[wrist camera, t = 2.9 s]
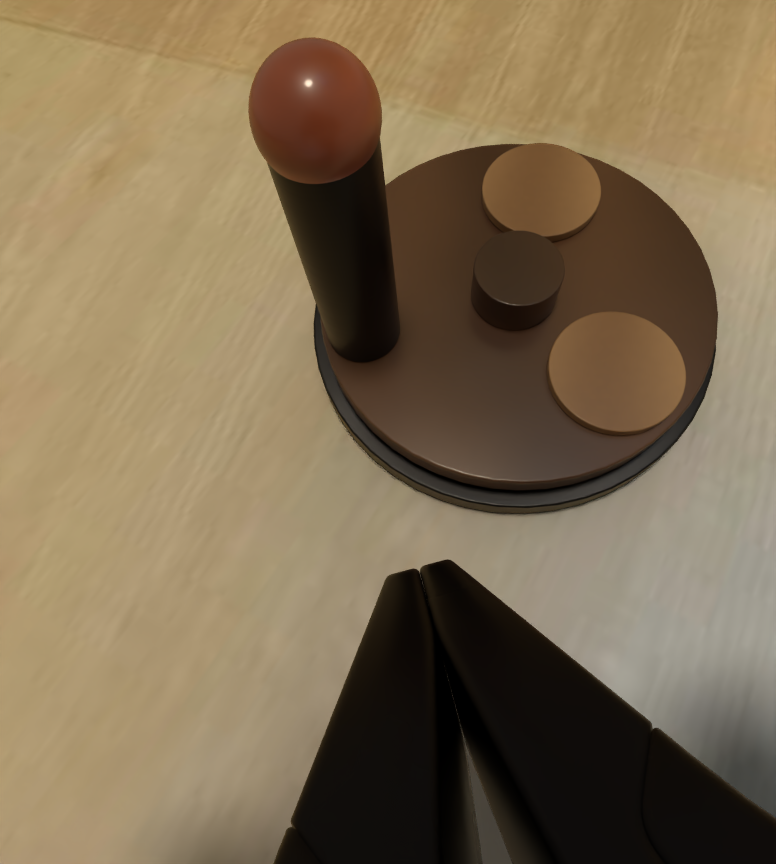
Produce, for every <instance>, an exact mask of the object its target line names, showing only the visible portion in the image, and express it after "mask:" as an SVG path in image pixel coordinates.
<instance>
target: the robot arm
mask: <svg viewBox="0 0 776 864" xmlns="http://www.w3.org/2000/svg"><path fill="white" fill-rule="evenodd" d="M420 575H421V576H420ZM421 579H422V580H421ZM422 582H423V583H422ZM423 586H424V587H423ZM424 590H425V591H424ZM428 605H429V606H428ZM444 665H445V666H444ZM447 676H448V677H447ZM448 680H449V681H448ZM450 687H451V688H450ZM451 691H452V692H451ZM452 695H453V696H452ZM453 698H454V700H453ZM454 702H455V703H454ZM455 706H456V707H455ZM456 709H457V711H456ZM457 713H458V715H457ZM458 717H459V718H458ZM459 721H460V722H459ZM460 724H461V726H460ZM461 728H462V730H461ZM462 731H463V734H462ZM463 735H464V738H465V741H466V745H467V748H468V750H469V753H470V756H471V759H472V761H473V764H474V767H475V769H476V772H477V774H478V777H479V779H480V782H481V785H482V787H483V790H484V792H485V795H486V797H487V800H488V802H489V805H490V807H491V810H492V812H493V815H494V817H495V820H496V823H497V825H498V828H499V830H500V833H501V835H502V838H503V840H504V843H505V845H506V848H507V850H508V853H509V855H510V858H511V860H512V863H513V864H776V818H775V817H774V816H772V815H771V814H769V813H768V812H767V811H765V810H764V809H762V808H761V807H759V806H758V805H757V804H755V803H754V802H752V801H751V800H749V799H748V798H747V797H746V796H744V795H743V794H742V793H740V792H739V791H738V790H736V789H735V788H734V787H733V786H731V785H730V784H729V783H727V782H726V781H725V780H723V779H722V778H721V777H720V776H718V775H717V774H716V773H714V772H713V771H712V770H710V769H709V768H708V767H707V766H705V765H704V764H703V763H701V762H700V761H699V760H697V759H696V758H695V757H694V756H692V755H691V754H690V753H689V752H687V751H686V750H685V749H684V748H683V747H681V746H680V745H679V744H678V743H676V742H675V741H674V740H673V739H672V738H670V737H669V736H668V735H667V734H665V733H664V732H663V731H662V730H661V729H659V728H654V729H653V728H652V723H651V722H650V721H649V720H648V719H646V718H645V717H644V716H643V715H641V714H640V713H639V712H638V711H637V710H635V709H634V708H633V707H632V706H630V705H629V704H628V703H627V702H625V701H624V700H623V699H622V698H621V697H619V696H618V695H617V694H616V693H614V692H613V691H612V690H611V689H609V688H608V687H607V686H606V685H605V684H603V683H602V682H601V681H600V680H598V679H597V678H596V677H595V676H593V675H592V674H591V673H590V672H588V671H587V670H586V669H585V668H584V667H582V666H581V665H580V664H579V663H577V662H576V661H575V660H574V659H572V658H571V657H570V656H569V655H568V654H566V653H565V652H564V651H563V650H561V649H560V648H559V647H558V646H556V645H555V644H554V643H553V642H552V641H550V640H549V639H548V638H547V637H545V636H544V635H543V634H542V633H540V632H539V631H538V630H537V629H535V628H534V627H533V626H532V625H531V624H529V623H528V622H527V621H526V620H524V619H523V618H522V617H521V616H519V615H518V614H517V613H516V612H515V611H513V610H512V609H511V608H510V607H508V606H507V605H506V604H505V603H503V602H502V601H501V600H500V599H499V598H497V597H496V596H495V595H494V594H492V593H491V592H490V591H489V590H487V589H486V588H485V587H484V586H483V585H481V584H480V583H479V582H478V581H476V580H475V579H474V578H473V577H471V576H470V575H469V574H468V573H466V572H465V571H464V570H463V569H462V568H460V567H459V566H458V565H457V564H455V563H454V562H453V561H451V560H443V561H439V562H435V563H432V564H428V565H424V566H422V567H421V569H420V573H419V571H418V570H417V569H410V570H406V571H402V572H398V573H395V574H391V575H389V576H388V577H387V578H386V580H385V582H384V585H383V587H382V590H381V592H380V595H379V597H378V600H377V602H376V605H375V608H374V610H373V613H372V615H371V618H370V620H369V623H368V625H367V628H366V630H365V633H364V635H363V638H362V641H361V643H360V646H359V648H358V651H357V653H356V656H355V658H354V661H353V663H352V666H351V668H350V671H349V674H348V676H347V679H346V681H345V684H344V686H343V689H342V691H341V694H340V696H339V699H338V701H337V704H336V707H335V709H334V712H333V714H332V717H331V719H330V722H329V724H328V727H327V729H326V732H325V735H324V737H323V740H322V742H321V745H320V747H319V750H318V752H317V755H316V757H315V760H314V762H313V765H312V768H311V770H310V773H309V775H308V778H307V780H306V783H305V785H304V788H303V790H302V793H301V795H300V798H299V801H298V803H297V806H296V808H295V811H294V813H293V816H292V818H291V824H292V827H290V828H288V829H287V830H286V832H285V835H284V838H283V840H282V843H281V845H280V848H279V850H278V853H277V856H276V858H275V861H274V863H273V864H483V862H482V855H481V848H480V842H479V835H478V828H477V821H476V814H475V807H474V800H473V793H472V786H471V779H470V772H469V765H468V759H467V754H466V748H465V743H464V739H463Z"/></svg>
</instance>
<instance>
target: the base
mask: <svg viewBox="0 0 776 864" xmlns="http://www.w3.org/2000/svg"><path fill="white" fill-rule="evenodd" d="M314 345H315V351H316V357H317V362H318V367H319V371H320V374H321V377H322V379H323V382H324V385H325V388H326V391H327V393H328V396H329V398H330V400H331V402H332V404H333V406H334V408H335V410H336V412H337V414H338V416H339V418H340V420H341V421H342V423H343V424H344V425H345V427H346V428H347V430H348V431H349V432H350V434H351V435H352V437H353V438H354V439H355V441H356V442H357V443H358V444H359V445H360V446H361V447H362V448H363V449H364V450H365V451H366V452H367V453H368V455H369V456H370V457H371V458H372V459H373V460H375V461H376V462H377V463H378V464H380V465H381V466H382V467H383V468H385V469H386V470H387V471H388V472H390V473H391V474H392V475H394V476H395V477H397V478H398V479H400V480H402V481H403V482H405V483H407V484H408V485H410V486H412V487H413V488H415V489H417V490H419V491H421V492H424V493H426V494H428V495H431V496H433V497H435V498H437V499H440V500H442V501H446V502H449V503H452V504H456V505H459V506H463V507H466V508H471V509H477V510H483V511H489V512H496V513H534V512H545V511H553V510H558V509H562V508H567V507H571V506H576V505H580V504H582V503H585V502H588V501H590V500H593V499H596V498H598V497H601V496H604V495H606V494H608V493H610V492H612V491H613V490H615V489H617V488H619V487H621V486H623V485H625V484H626V483H628V482H630V481H631V480H632V479H634V478H635V477H637V476H638V475H639V474H641V473H642V472H643V471H645V470H646V469H647V468H649V467H650V466H651V465H653V464H654V463H655V462H656V461H657V460H659V459H660V458H661V457H662V456H663V455H664V454H665V453H666V452H667V451H668V450H669V449H670V448H671V447H672V446H673V445H674V444H675V443H676V442H677V441H678V439H679V438H680V437H681V435H682V434H683V433H684V431H685V430H686V429H687V427H688V426H689V424H690V423H691V422H692V420H693V418H694V417H695V415H696V413H697V411H698V409H699V407H700V405H701V403H702V401H703V399H704V397H705V394H706V391H707V388H708V385H709V382H710V379H711V376H712V371H713V365H714V359H715V352H716V343H715V348H714V352H713V357H712V362H711V364H710V367H709V369H708V372H707V374H706V377H705V379H704V382H703V384H702V386H701V387H700V389H699V391H698V392H697V394H696V396H695V398H694V399H693V401H692V403H691V404H690V406H689V407H688V408H687V409H686V410H685V412H684V413H683V414H682V415H681V417H680V418H679V419H678V420H677V421H676V423H675V424H674V425H673V426H672V427H671V428H670V429H668V430H667V431H666V432H665V433H664V434H663V435H662V436H661V437H660V438H658V439H657V440H656V441H655V442H654V443H653V444H652V445H651V446H649V447H648V448H647V449H646V450H645V451H643V452H642V453H640V454H639V455H637V456H636V457H634V458H633V459H631V460H630V461H628V462H626V463H625V464H623V465H621V466H619V467H617V468H615V469H613V470H611V471H609V472H607V473H604V474H602V475H600V476H597V477H594V478H591V479H588V480H585V481H582V482H579V483H575V484H572V485H566V486H560V487H555V488H549V489H538V490H505V489H492V488H486V487H481V486H476V485H471V484H466V483H462V482H459V481H456V480H453V479H450V478H447V477H444V476H441V475H438V474H436V473H434V472H432V471H430V470H428V469H426V468H424V467H422V466H420V465H418V464H415V463H413V462H412V461H410V460H409V459H407V458H406V457H404V456H403V455H401V454H400V453H398V452H397V451H395V450H394V449H392V448H391V447H390V446H389V445H387V444H386V443H385V442H384V441H383V440H382V439H380V438H379V437H378V436H377V435H376V434H375V433H373V432H372V430H371V429H370V428H369V427H368V426H367V425H366V424H365V423H364V421H363V420H362V419H361V418H360V417H359V416H358V415H357V413H356V412H355V410H354V409H353V407H352V406H351V404H350V403H349V401H348V400H347V398H346V397H345V395H344V394H343V391H342V389H341V387H340V385H339V383H338V381H337V379H336V376H335V374H334V372H333V369H332V367H331V364H330V361H329V357H328V354H327V351H326V347H325V344H324V340H323V333H322V326H321V316H320V313H319V310H318V307H317V304H316V308H315V317H314Z"/></svg>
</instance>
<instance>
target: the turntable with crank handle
mask: <svg viewBox="0 0 776 864" xmlns="http://www.w3.org/2000/svg"><path fill="white" fill-rule="evenodd" d="M248 112H249V121H250V127H251V131H252V134H253V138H254V140H255V143H256V145H257V147H258V149H259V151H260V153H261V154H262V156H263V157H264V159H265V160H266V161H267V164H268V166H269V169H270V172H271V175H272V178H273V181H274V184H275V187H276V189H277V192H278V195H279V198H280V201H281V204H282V207H283V210H284V212H285V215H286V218H287V221H288V224H289V227H290V230H291V233H292V235H293V238H294V241H295V244H296V247H297V250H298V253H299V256H300V258H301V261H302V264H303V267H304V270H305V273H306V276H307V279H308V281H309V284H310V287H311V290H312V293H313V296H314V299H315V301H316V304H317V307H318V310H319V313H320V316H321V326H322V333H323V340H324V344H325V347H326V351H327V354H328V357H329V361H330V364H331V367H332V369H333V372H334V374H335V376H336V379H337V381H338V383H339V385H340V387H341V389H342V391H343V394H344V395H345V397H346V398H347V400H348V401H349V403H350V404H351V406H352V407H353V409H354V410H355V412H356V413H357V415H358V416H359V417H360V418H361V419H362V420H363V421H364V423H365V424H366V425H367V426H368V427H369V428H370V429H371V430H372V432H373V433H375V434H376V435H377V436H378V437H379V438H380V439H382V440H383V441H384V442H385V443H386V444H387V445H389V446H390V447H391V448H392V449H394V450H395V451H397V452H398V453H400V454H401V455H403V456H404V457H406V458H407V459H409V460H410V461H412V462H413V463H415V464H418V465H420V466H422V467H424V468H426V469H428V470H430V471H432V472H434V473H436V474H438V475H441V476H444V477H447V478H450V479H453V480H456V481H459V482H462V483H466V484H471V485H476V486H481V487H486V488H492V489H505V490H538V489H549V488H555V487H560V486H566V485H572V484H575V483H579V482H582V481H585V480H588V479H591V478H594V477H597V476H600V475H602V474H604V473H607V472H609V471H611V470H613V469H615V468H617V467H619V466H621V465H623V464H625V463H626V462H628V461H630V460H631V459H633V458H634V457H636V456H637V455H639V454H640V453H642V452H643V451H645V450H646V449H647V448H648V447H649V446H651V445H652V444H653V443H654V442H655V441H656V440H657V439H658V438H660V437H661V436H662V435H663V434H664V433H665V432H666V431H667V430H668V429H670V428H671V427H672V426H673V425H674V424H675V423H676V421H677V420H678V419H679V418H680V417H681V415H682V414H683V413H684V412H685V410H686V409H687V408H688V407H689V406H690V404H691V403H692V401H693V399H694V398H695V396H696V394H697V392H698V391H699V389H700V387H701V386H702V384H703V382H704V379H705V377H706V374H707V372H708V369H709V367H710V364H711V362H712V357H713V352H714V348H715V343H716V339H717V321H718V311H717V301H716V292H715V288H714V284H713V280H712V276H711V273H710V269H709V267H708V264H707V262H706V260H705V257H704V255H703V253H702V250H701V248H700V247H699V245H698V243H697V242H696V240H695V238H694V237H693V235H692V233H691V232H690V230H689V229H688V227H687V226H686V225H685V224H684V222H683V221H682V220H681V219H680V218H679V216H678V215H677V214H676V213H675V211H674V210H673V209H672V208H671V207H670V206H669V205H667V204H666V203H665V202H664V201H663V200H662V199H661V198H660V197H659V196H658V195H657V194H656V193H654V192H653V191H652V190H650V189H649V188H648V187H646V186H645V185H644V184H642V183H641V182H640V181H638V180H636V179H635V178H633V177H631V176H630V175H628V174H626V173H625V172H623V171H621V170H619V169H617V168H615V167H613V166H611V165H609V164H606V163H604V162H602V161H600V160H597V159H594V158H591V157H588V156H585V155H582V154H579V153H576V152H574V151H572V150H570V149H568V148H565V147H562V146H559V145H554V144H547V143H535V144H501V145H490V146H481V147H475V148H470V149H465V150H460V151H456V152H453V153H450V154H446V155H443V156H440V157H437V158H435V159H432V160H430V161H427V162H425V163H423V164H420V165H418V166H416V167H414V168H412V169H411V170H409V171H407V172H405V173H403V174H402V175H400V176H398V177H397V178H395V179H394V180H393V181H391V182H390V183H388V184H387V185H385V180H384V171H383V161H382V152H381V143H380V133H381V125H382V108H381V102H380V97H379V93H378V90H377V87H376V85H375V83H374V80H373V78H372V76H371V75H370V73H369V71H368V70H367V68H366V67H365V66H364V64H363V63H362V62H361V61H360V60H359V59H358V58H357V57H356V56H355V55H354V54H353V53H352V52H350V51H349V50H348V49H346V48H344V47H343V46H341V45H339V44H337V43H335V42H332V41H329V40H326V39H321V38H302V39H297V40H294V41H291V42H288V43H286V44H284V45H282V46H280V47H279V48H277V49H276V50H275V51H274V52H273V53H271V54H270V55H269V56H268V57H267V58H266V60H265V61H264V62H263V64H262V65H261V67H260V68H259V70H258V71H257V73H256V76H255V78H254V81H253V83H252V87H251V91H250V96H249V110H248Z"/></svg>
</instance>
